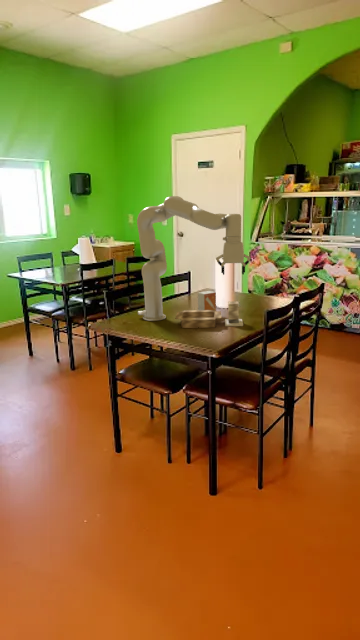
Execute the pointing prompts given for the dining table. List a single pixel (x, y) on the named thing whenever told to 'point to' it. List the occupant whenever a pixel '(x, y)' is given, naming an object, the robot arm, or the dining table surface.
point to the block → (233, 312)
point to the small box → (207, 300)
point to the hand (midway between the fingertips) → (233, 274)
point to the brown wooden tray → (198, 318)
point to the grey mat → (233, 323)
